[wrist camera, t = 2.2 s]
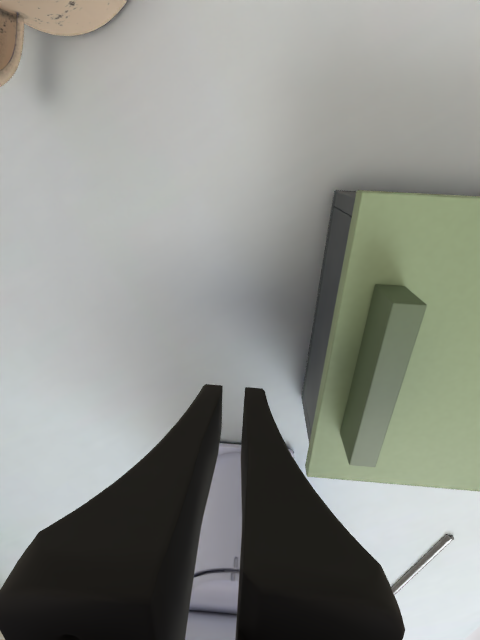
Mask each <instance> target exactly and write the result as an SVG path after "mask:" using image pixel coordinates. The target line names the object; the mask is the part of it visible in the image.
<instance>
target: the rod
mask: <svg viewBox="0 0 480 640" xmlns="http://www.w3.org/2000/svg"><path fill="white" fill-rule="evenodd" d="M453 539H454V537H453V536H450V537H449V535H448V534H446V535H445V536H444V537H442V538H441V539H440V540H439V541H438V542H437V543H436V544H435V545H434V546H433V547H432V548H431V549H430V550H429V551H428V552H427V553H426V554H425V555H424V556H423V557H422V558H421V559H420V560H419V561H418V562H417V563H416V564H415V565H414V566H412V567H411V568H410V569H409V570H408V571H407V572H406V573H405V574H404V575H403V576H402V577H401V578H400V579H399V580H398V581H397V582H396V583H395V584H394V585H393V586H392V587H391V589H392V591H393V594H394V595H395V594H396V593H397V592H398V591H399V590H400V589H401V588H402V587H403V586H404V585H406V584H407V583H408V582H409V581H410V580H411V579H412V578H413V577H414V576H415V575H416V574H417V573H418V572H419V571H420V570H421V569H423V568H424V567H425V566H426V565H427V564H428V563H429V562H430V561H431V560H432V559H433V558H434V557H435V556H436V555H437V554H438V553H439V552H441V551H442V550H443V549H444V548H445V547H446V546H447V545H448V544H449V543H450V542H451V541H452V540H453Z"/></svg>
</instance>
